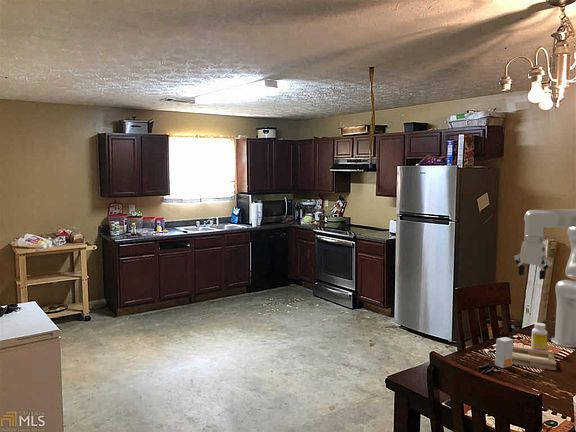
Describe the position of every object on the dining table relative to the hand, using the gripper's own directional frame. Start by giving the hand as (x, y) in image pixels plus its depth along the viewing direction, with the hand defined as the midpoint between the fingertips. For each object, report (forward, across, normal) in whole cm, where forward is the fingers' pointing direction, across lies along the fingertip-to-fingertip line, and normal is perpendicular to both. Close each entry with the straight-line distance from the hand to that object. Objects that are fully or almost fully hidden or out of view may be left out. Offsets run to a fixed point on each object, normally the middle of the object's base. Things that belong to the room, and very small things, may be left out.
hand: (531, 276), depth 220 cm
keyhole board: (+37, -3, +3) cm, 38 cm away
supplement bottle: (+38, +2, -12) cm, 39 cm away
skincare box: (+38, 0, +19) cm, 42 cm away
